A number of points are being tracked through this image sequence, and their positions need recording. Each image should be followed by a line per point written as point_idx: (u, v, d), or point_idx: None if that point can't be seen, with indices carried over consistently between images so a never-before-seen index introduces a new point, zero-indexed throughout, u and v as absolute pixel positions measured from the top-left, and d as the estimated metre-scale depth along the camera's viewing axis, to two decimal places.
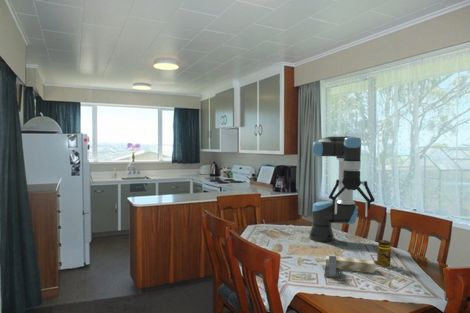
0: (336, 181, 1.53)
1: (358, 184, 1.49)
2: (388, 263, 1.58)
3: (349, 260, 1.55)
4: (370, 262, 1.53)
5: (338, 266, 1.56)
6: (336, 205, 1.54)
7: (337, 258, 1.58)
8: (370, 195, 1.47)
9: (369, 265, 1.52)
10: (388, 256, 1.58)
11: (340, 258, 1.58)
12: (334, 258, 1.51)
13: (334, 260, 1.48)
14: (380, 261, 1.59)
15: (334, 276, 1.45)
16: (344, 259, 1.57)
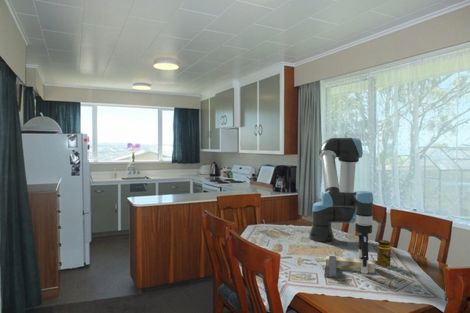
0: None
1: (361, 238, 1.51)
2: (388, 263, 1.58)
3: (349, 260, 1.55)
4: (370, 262, 1.53)
5: (338, 266, 1.56)
6: None
7: (337, 258, 1.58)
8: (362, 252, 1.47)
9: (369, 265, 1.52)
10: (388, 256, 1.58)
11: (340, 258, 1.58)
12: (334, 258, 1.51)
13: (334, 260, 1.48)
14: (380, 261, 1.59)
15: (334, 276, 1.45)
16: (344, 259, 1.57)
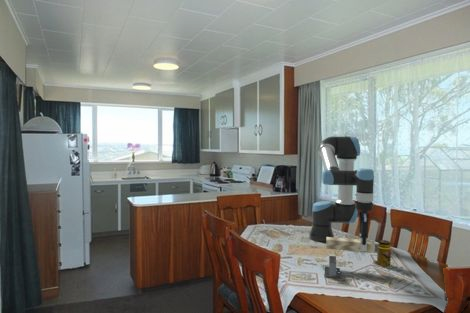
0: None
1: (362, 215, 1.51)
2: (388, 263, 1.58)
3: (350, 241, 1.55)
4: (371, 242, 1.53)
5: (339, 246, 1.56)
6: None
7: (337, 239, 1.58)
8: (362, 231, 1.49)
9: (370, 245, 1.52)
10: (388, 256, 1.58)
11: (340, 239, 1.58)
12: (334, 258, 1.51)
13: (334, 260, 1.48)
14: (380, 261, 1.59)
15: (334, 276, 1.45)
16: (344, 239, 1.57)
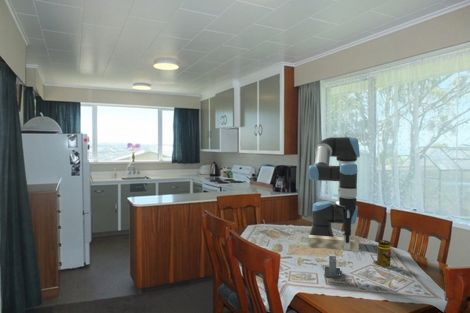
0: (344, 209, 1.54)
1: (345, 212, 1.45)
2: (388, 263, 1.58)
3: (333, 238, 1.48)
4: (355, 240, 1.46)
5: (321, 244, 1.49)
6: (343, 237, 1.50)
7: (320, 237, 1.51)
8: (345, 228, 1.43)
9: (353, 243, 1.45)
10: (388, 256, 1.58)
11: (323, 237, 1.51)
12: (334, 258, 1.51)
13: (334, 260, 1.48)
14: (380, 261, 1.59)
15: (334, 276, 1.45)
16: (328, 237, 1.50)
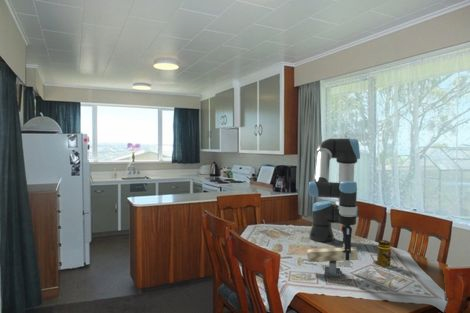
0: None
1: (344, 230, 1.45)
2: (388, 263, 1.58)
3: (331, 250, 1.49)
4: (352, 249, 1.46)
5: (321, 258, 1.49)
6: None
7: (319, 250, 1.51)
8: (344, 245, 1.41)
9: (352, 252, 1.45)
10: (388, 256, 1.58)
11: (322, 249, 1.52)
12: None
13: None
14: (380, 261, 1.59)
15: (334, 276, 1.45)
16: (326, 250, 1.50)
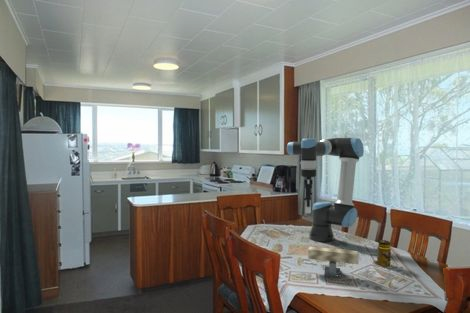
0: None
1: (306, 182, 1.61)
2: (388, 263, 1.58)
3: (333, 251, 1.48)
4: (354, 252, 1.46)
5: (321, 256, 1.49)
6: None
7: (320, 248, 1.51)
8: None
9: (353, 255, 1.45)
10: (388, 256, 1.58)
11: (323, 248, 1.51)
12: None
13: None
14: (380, 261, 1.59)
15: (334, 276, 1.45)
16: (327, 249, 1.50)
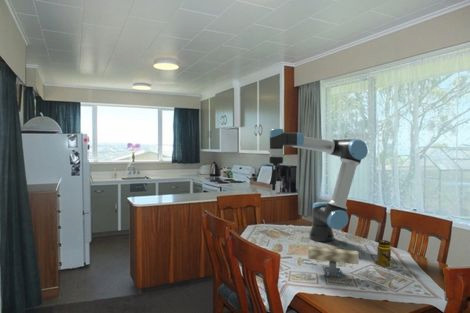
0: None
1: None
2: (388, 263, 1.58)
3: (333, 251, 1.48)
4: (354, 252, 1.46)
5: (321, 256, 1.49)
6: None
7: (320, 248, 1.51)
8: (271, 177, 1.73)
9: (353, 255, 1.45)
10: (388, 256, 1.58)
11: (323, 248, 1.51)
12: None
13: None
14: (380, 261, 1.59)
15: (334, 276, 1.45)
16: (327, 249, 1.50)
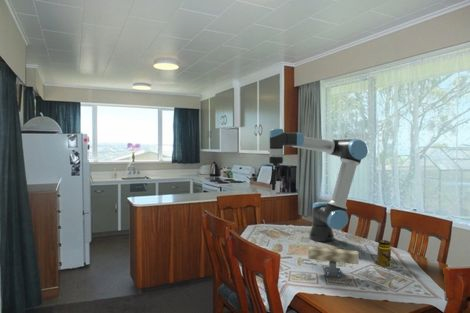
0: None
1: None
2: (388, 263, 1.58)
3: (333, 251, 1.48)
4: (354, 252, 1.46)
5: (321, 256, 1.49)
6: None
7: (320, 248, 1.51)
8: (271, 177, 1.73)
9: (353, 255, 1.45)
10: (388, 256, 1.58)
11: (323, 248, 1.51)
12: None
13: None
14: (380, 261, 1.59)
15: (334, 276, 1.45)
16: (327, 249, 1.50)
